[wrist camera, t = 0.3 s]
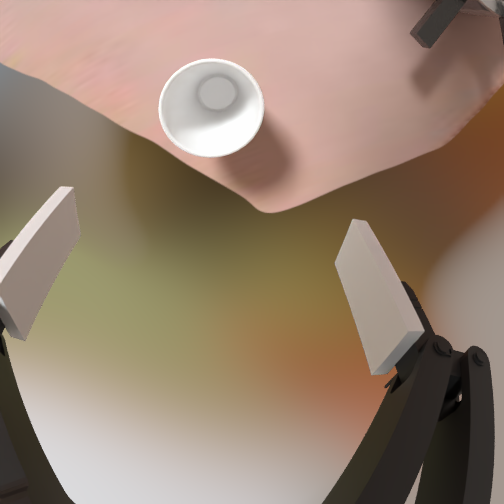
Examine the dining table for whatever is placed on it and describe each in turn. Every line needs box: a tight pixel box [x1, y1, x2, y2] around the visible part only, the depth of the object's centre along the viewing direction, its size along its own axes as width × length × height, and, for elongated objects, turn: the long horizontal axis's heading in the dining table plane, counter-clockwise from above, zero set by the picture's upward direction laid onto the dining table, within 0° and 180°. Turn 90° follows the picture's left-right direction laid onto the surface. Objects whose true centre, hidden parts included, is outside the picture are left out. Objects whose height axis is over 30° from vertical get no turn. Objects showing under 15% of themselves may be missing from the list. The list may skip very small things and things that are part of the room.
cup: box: [158, 59, 264, 158], centre depth 30 cm, size 10×10×11 cm
